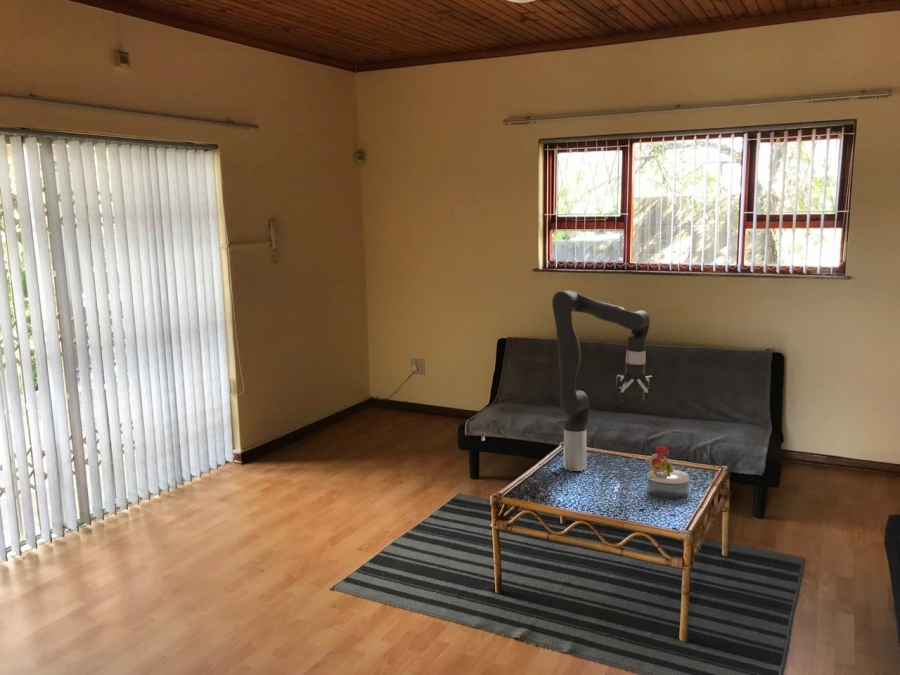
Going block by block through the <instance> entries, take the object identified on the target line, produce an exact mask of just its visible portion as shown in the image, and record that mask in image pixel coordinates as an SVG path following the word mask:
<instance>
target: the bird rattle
mask: <svg viewBox="0 0 900 675" xmlns="http://www.w3.org/2000/svg"><path fill="white" fill-rule="evenodd" d="M655 450H656V453H654V454H651V456H649V460H648V466H649V467H650V469H651V470H653V472H654V473H657V472H662V471H663V472H664V471H666V472H667V474H670V473H671V472H673V470H674V469H673V468H672V465H674V464H673V462H672V461H670V462H669V460H668V458H667V455H668V454H669V453H670V450H669V449H667V447H666V446H663V445H662V446H655Z"/></svg>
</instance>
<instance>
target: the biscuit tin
mask: <svg viewBox="0 0 900 675" xmlns="http://www.w3.org/2000/svg"><path fill="white" fill-rule="evenodd" d="M646 476H647V493H648V494H649V495H650V496H651V495H652V496H651V497H654V496H655V497H654V498H656V497H657V498H658V499H660V498H661V499H662V500H667V499H668V500H669V501H674V500H676V501H677V500H683V499H685V498H687V497H689V495H690V480H691V478H690V477H691V476H690V474H689V473H688V472H684V471H682V470H678V469H673V472H671V473H670V474H667V472H666V471H664V472H663V471H662V472H657V473H654V472H653V470H652V469H651V470H649V471H648V472H647V474H646Z"/></svg>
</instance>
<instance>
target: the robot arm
mask: <svg viewBox="0 0 900 675" xmlns="http://www.w3.org/2000/svg"><path fill="white" fill-rule="evenodd" d="M551 303H552V305H551V306H552V312H553V317H554V321H555V322H554V324H555V328H556V341H557V356H558V364H559V378H560V379H559V383H560V384H559V404H560V405H559V406H560V408H561V410H562V412H563V413H564V414H565V415H568V417H567V419H566V420H565V421H564V423H563V445H562V446H563V449H562V450H563V451H562V454H563V455H562V456H563V457H562V458H563V461H562V462H563V466H564V467H563V466H562V467H563V469H564V468H565V469H564V471H565V470H569V471H568V472H572V471H581V472H584V471H586V470H587V427H588V424H589V416H590V415H589V414H590V401H589V397H588V395H587V393H586V392H584V391H583V390H581V389H576V381H577V380H576V379H577V376H578V373H579V369H580V366H581V362H582V353H581V344H580V339H579V337H578V336H577V333H576V331H575V329H574V327H573V318H572V313H573V312H574V313H575V312H576V313H584V314H587V315H588V314H589V315H591V316H593V317H595V318H597V319H599V320H602V321H604V322H608V323H612V324H614V325H615V324H617V325H619V326H621V327H623V328H625V329H628V330H631V332H630V335H628V337H627V341H626V354H625V367H624V368H625V369H624V370H625V371H624V375H620V374H617V375H616V380H615V388H614V389H615V390H616V391H617V392H619V399H620V401H621V402H625V391H626V390H627V389H628V388H629V387H630V388H633V387H635V388H638V387H641V389H643V392H642V393H643V394H642V401H643V402H647V400H648V395H649V392H653V390H654V386H653V385H654V377H653V376H652V375H651V374H650V375H648V376H647V375H645V374H646V362H647V359H646V358H647V356H646V346H647V338H648V333H649V329H650V316H649V314H648V312H647V311H645V310H642V309H641V310H636V311H630V310H627V309H625V308H624V307H622V306H621V305H620V306H619V305H615V304H611V303H608V302H603V301H599V300H596V299H592V298H590V297H586V296H584V295H582V294H580V293H578V292H576V291H573V290H570V289H568V290H561V291H558V292H556V293H555V294H554V295H553V297H552V302H551ZM623 380H624V381H625V382H624V383H623V385H622V386H621V382H622V381H623ZM645 381H646V382H648V387H646V386H645V384H644V382H645ZM583 470H584V471H583Z"/></svg>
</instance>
